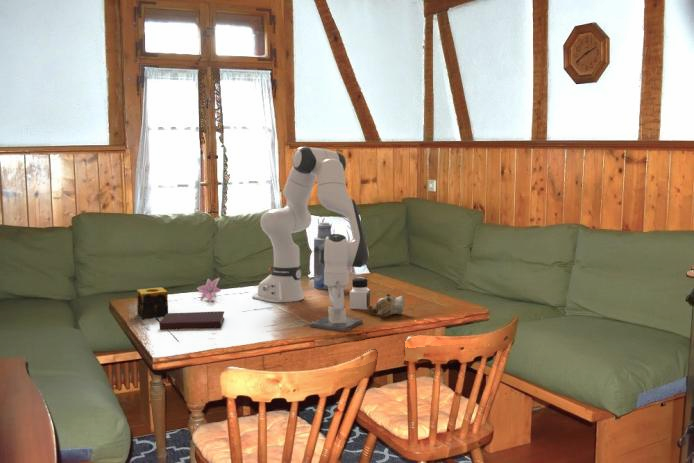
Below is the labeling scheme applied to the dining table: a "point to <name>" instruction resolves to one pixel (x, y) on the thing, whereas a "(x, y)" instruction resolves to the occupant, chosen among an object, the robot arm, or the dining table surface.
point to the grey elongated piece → (323, 232)
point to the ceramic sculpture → (388, 306)
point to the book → (192, 320)
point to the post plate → (336, 324)
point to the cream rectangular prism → (332, 315)
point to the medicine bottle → (359, 294)
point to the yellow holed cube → (152, 303)
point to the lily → (209, 289)
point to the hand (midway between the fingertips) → (336, 316)
